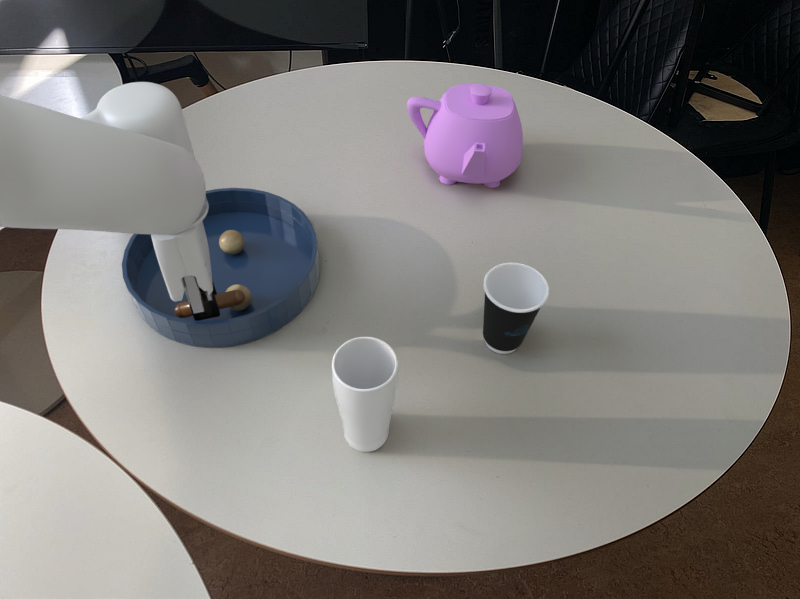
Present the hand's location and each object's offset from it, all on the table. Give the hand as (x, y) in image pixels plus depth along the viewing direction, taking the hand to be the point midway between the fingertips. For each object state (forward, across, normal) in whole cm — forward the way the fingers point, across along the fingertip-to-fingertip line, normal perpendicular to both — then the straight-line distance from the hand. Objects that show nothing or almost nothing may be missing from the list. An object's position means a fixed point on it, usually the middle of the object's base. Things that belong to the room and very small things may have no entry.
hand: (206, 308), depth 78 cm
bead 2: (+1, -2, +4) cm, 5 cm away
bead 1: (+1, -13, +4) cm, 13 cm away
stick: (0, 0, +1) cm, 1 cm away
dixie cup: (+4, +12, +37) cm, 39 cm away
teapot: (+4, -22, +44) cm, 49 cm away
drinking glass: (+4, +21, +16) cm, 27 cm away
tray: (+4, -9, +3) cm, 10 cm away
